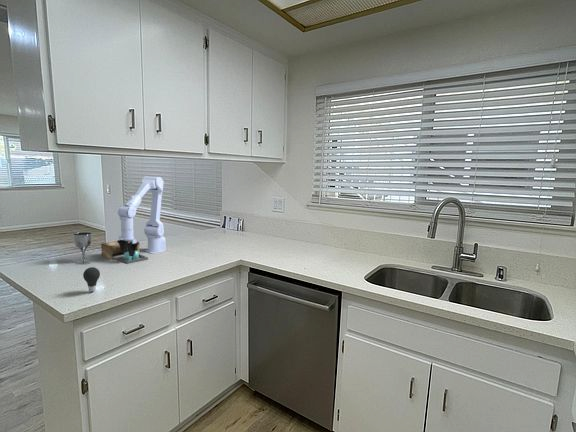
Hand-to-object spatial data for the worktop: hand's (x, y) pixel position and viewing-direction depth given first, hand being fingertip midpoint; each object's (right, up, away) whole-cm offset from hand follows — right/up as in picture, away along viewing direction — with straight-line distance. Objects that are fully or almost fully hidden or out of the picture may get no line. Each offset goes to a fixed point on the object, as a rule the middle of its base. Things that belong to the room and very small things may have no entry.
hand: (128, 254), depth 166 cm
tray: (+1, -4, +3) cm, 5 cm away
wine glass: (-20, -4, -6) cm, 21 cm away
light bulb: (+7, -10, -41) cm, 43 cm away
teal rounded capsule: (0, -3, +1) cm, 3 cm away
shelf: (-9, -2, +10) cm, 14 cm away
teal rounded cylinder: (+2, -3, +4) cm, 5 cm away
